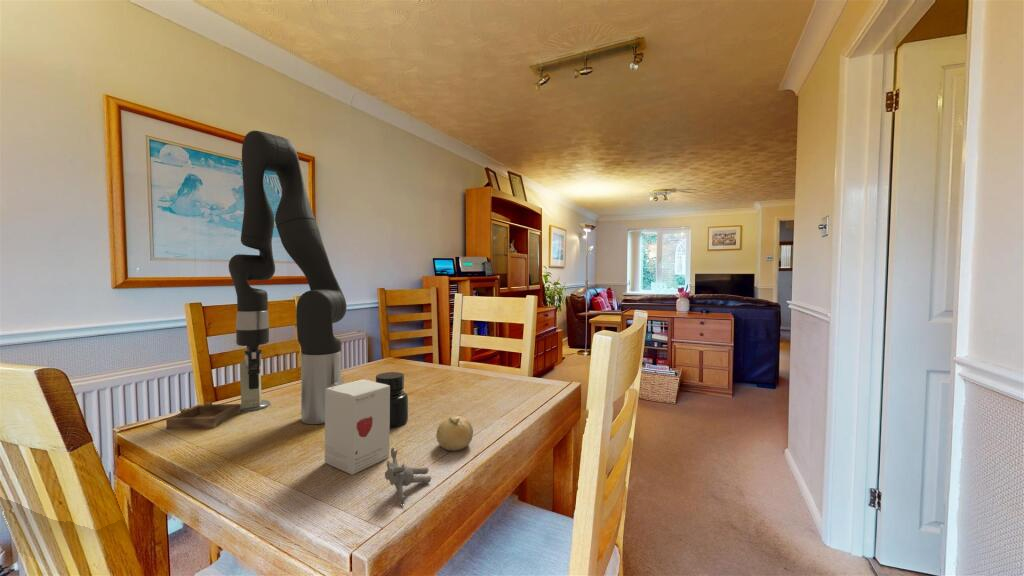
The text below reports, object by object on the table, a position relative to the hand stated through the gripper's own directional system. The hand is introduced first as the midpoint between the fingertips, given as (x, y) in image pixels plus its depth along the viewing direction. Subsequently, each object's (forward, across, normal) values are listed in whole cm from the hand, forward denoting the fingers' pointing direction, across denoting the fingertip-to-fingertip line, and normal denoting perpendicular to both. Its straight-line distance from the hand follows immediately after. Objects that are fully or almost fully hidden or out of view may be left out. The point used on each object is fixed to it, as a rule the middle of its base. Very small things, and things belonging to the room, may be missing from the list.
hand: (253, 385), depth 107 cm
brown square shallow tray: (+6, -6, +10) cm, 13 cm away
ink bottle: (+6, -32, -28) cm, 43 cm away
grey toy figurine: (+6, -64, -20) cm, 67 cm away
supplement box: (+6, -48, -16) cm, 51 cm away
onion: (+6, -54, -35) cm, 64 cm away
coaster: (+6, 0, 0) cm, 6 cm away
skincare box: (+6, 0, 0) cm, 6 cm away
